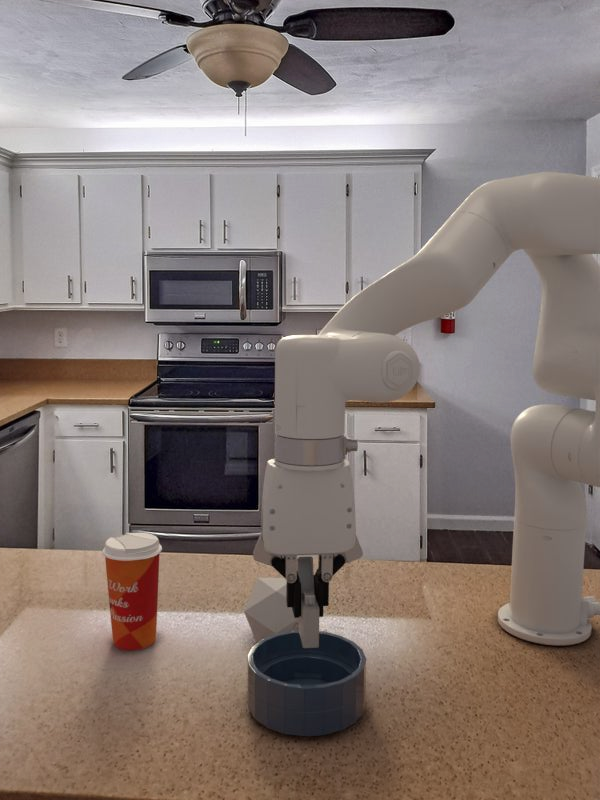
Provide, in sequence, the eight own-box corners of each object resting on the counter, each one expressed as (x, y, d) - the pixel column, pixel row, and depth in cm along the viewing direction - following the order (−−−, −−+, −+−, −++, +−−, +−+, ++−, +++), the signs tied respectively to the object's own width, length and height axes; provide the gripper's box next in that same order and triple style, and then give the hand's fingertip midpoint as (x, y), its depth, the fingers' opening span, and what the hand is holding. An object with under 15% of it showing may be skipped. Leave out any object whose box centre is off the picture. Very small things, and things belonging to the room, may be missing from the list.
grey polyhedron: (284, 666, 93) (325, 596, 95) (225, 627, 94) (267, 559, 96) (285, 657, 102) (322, 594, 104) (230, 622, 103) (269, 560, 105)
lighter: (319, 647, 78) (320, 576, 77) (302, 648, 78) (303, 576, 77) (310, 618, 85) (311, 552, 84) (295, 619, 85) (296, 553, 84)
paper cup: (93, 640, 98) (90, 540, 96) (141, 622, 104) (139, 527, 102) (127, 660, 93) (124, 555, 91) (175, 640, 99) (174, 540, 97)
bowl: (352, 673, 90) (353, 627, 90) (375, 737, 77) (377, 684, 77) (245, 679, 89) (245, 632, 88) (250, 745, 76) (250, 691, 75)
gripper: (373, 442, 84) (370, 596, 86) (234, 444, 82) (234, 601, 84) (389, 456, 76) (384, 624, 79) (236, 458, 74) (236, 630, 77)
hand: (307, 611), depth 82 cm, fingers closed on lighter, 1 cm apart
